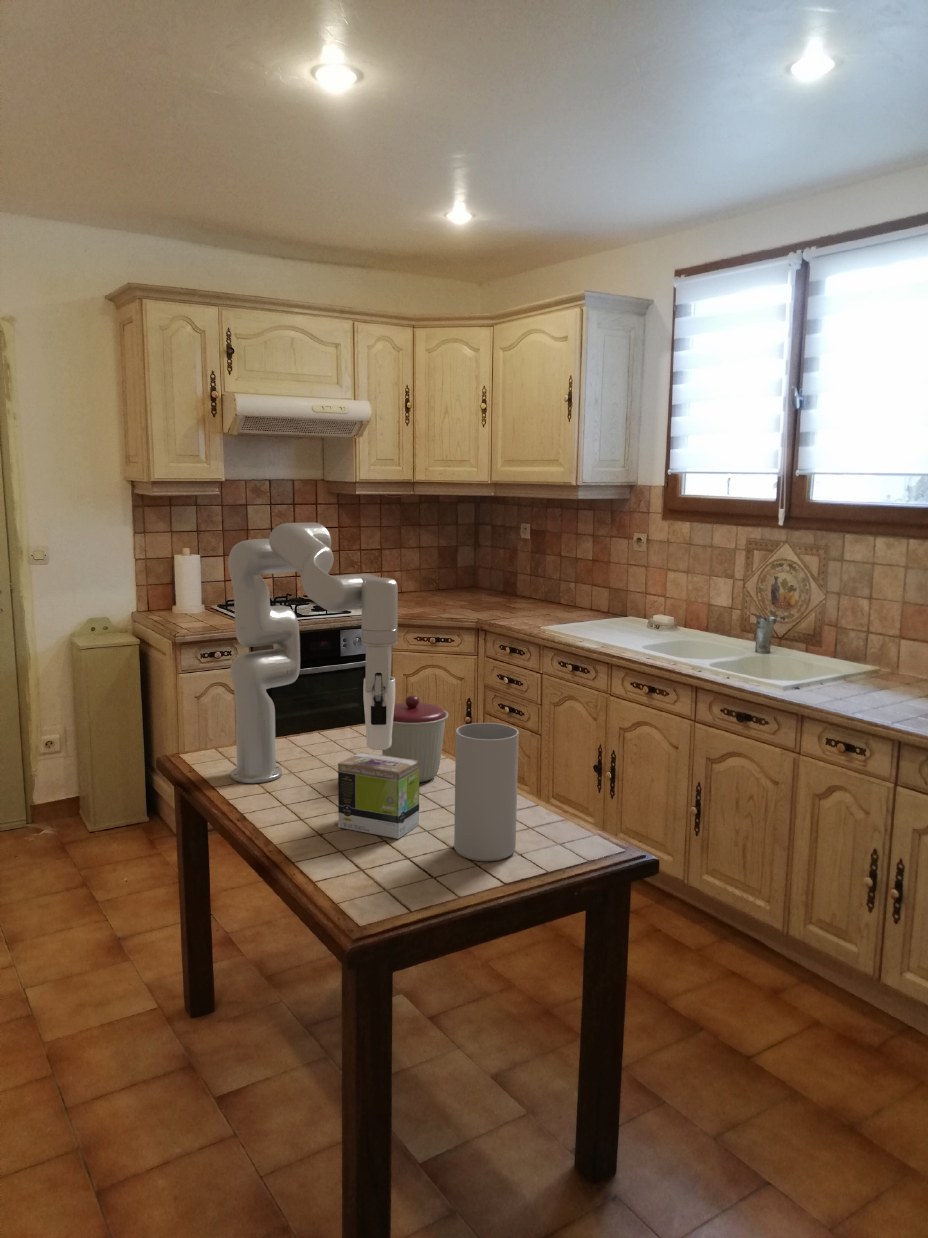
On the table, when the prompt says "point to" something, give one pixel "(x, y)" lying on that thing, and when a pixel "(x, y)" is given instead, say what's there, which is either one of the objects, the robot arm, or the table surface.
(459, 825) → the cylinder vase
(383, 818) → the tea box
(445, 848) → the table surface
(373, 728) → the white tumbler cup
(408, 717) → the canister
